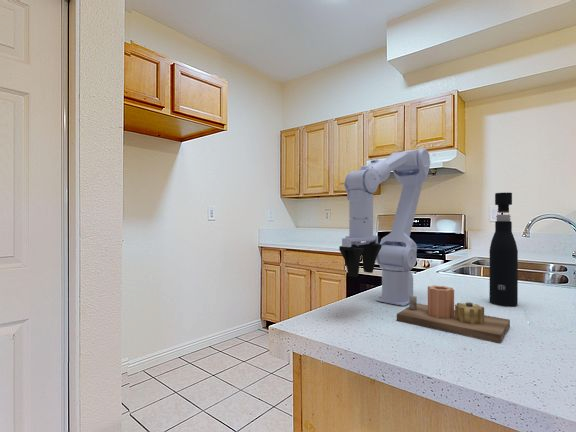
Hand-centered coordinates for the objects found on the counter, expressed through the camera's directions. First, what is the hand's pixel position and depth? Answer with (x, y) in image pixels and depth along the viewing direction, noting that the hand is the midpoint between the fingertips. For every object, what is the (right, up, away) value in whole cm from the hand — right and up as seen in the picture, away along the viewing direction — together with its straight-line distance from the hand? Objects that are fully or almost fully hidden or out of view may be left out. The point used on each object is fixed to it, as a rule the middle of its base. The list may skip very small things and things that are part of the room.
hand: (361, 274), depth 80 cm
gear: (+17, -8, -6) cm, 19 cm away
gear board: (+18, -9, -8) cm, 22 cm away
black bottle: (+41, -10, +8) cm, 42 cm away
